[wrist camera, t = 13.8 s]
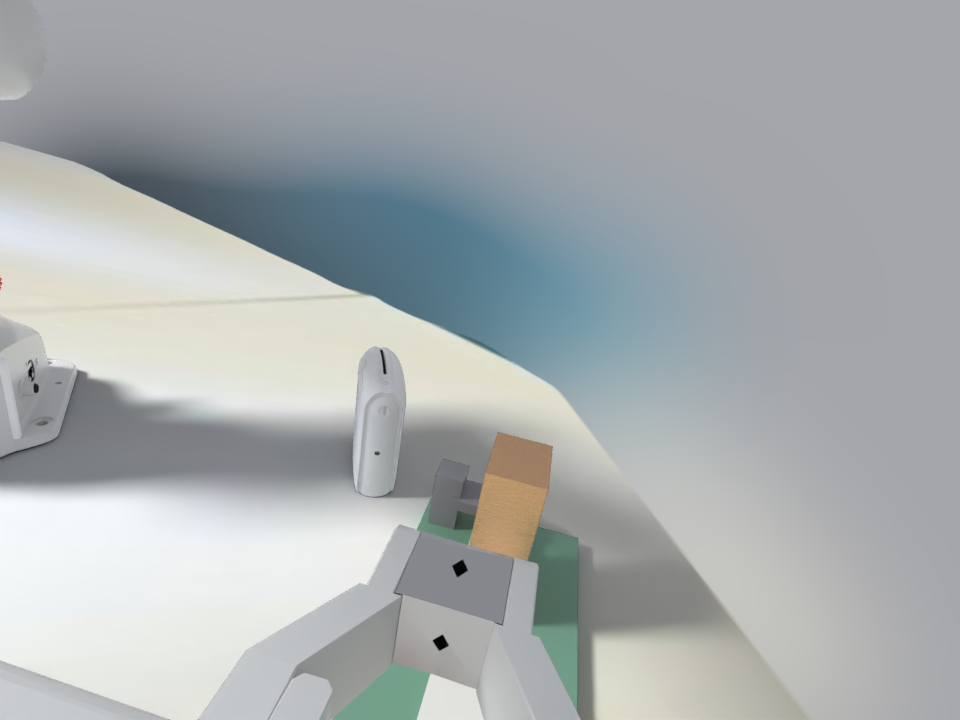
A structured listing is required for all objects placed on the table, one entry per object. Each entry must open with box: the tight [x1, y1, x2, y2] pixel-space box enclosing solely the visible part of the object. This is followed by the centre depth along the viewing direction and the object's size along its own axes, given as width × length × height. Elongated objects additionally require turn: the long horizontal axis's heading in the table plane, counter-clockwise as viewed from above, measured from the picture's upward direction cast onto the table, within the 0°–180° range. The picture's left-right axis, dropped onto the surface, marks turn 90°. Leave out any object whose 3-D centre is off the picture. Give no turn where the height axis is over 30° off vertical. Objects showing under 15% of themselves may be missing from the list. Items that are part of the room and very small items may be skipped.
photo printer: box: [353, 347, 406, 497], centre depth 48 cm, size 10×4×12 cm, turn 14°
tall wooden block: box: [469, 432, 553, 561], centre depth 37 cm, size 10×4×12 cm, turn 169°
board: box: [332, 459, 578, 720], centre depth 34 cm, size 22×14×6 cm, turn 169°
